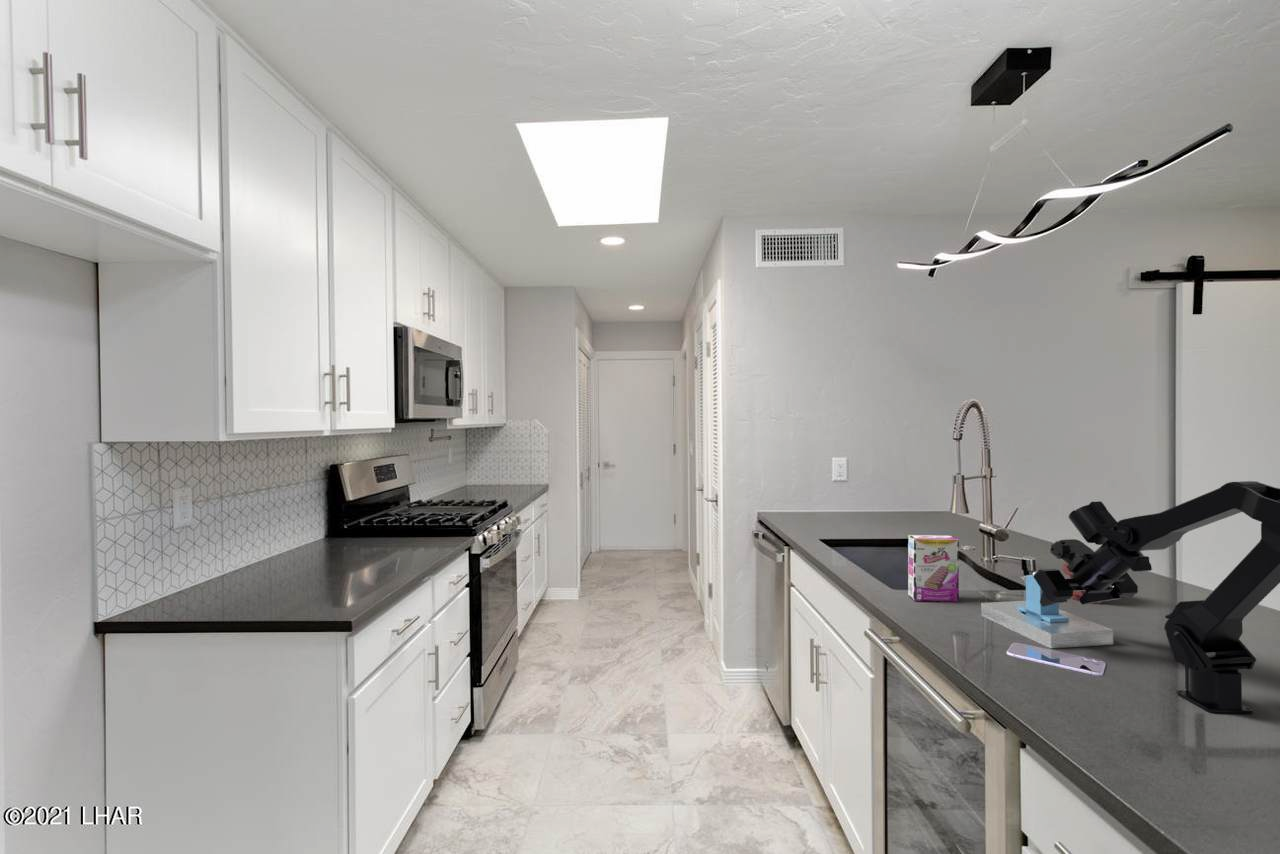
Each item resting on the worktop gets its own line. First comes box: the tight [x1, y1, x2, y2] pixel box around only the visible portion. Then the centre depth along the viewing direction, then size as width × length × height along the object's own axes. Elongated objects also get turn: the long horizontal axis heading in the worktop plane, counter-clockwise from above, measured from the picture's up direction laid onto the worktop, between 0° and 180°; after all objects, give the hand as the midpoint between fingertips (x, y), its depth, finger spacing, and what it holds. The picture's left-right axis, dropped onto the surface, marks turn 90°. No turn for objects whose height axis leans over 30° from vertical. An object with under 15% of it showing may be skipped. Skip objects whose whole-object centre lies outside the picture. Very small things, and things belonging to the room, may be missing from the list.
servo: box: [1018, 571, 1069, 623], centre depth 126 cm, size 9×4×12 cm, turn 7°
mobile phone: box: [1006, 642, 1106, 677], centre depth 111 cm, size 8×1×15 cm
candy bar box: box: [907, 534, 960, 603], centre depth 148 cm, size 11×5×16 cm, turn 84°
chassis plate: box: [980, 600, 1114, 650], centre depth 126 cm, size 20×14×3 cm
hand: (1061, 603), depth 121 cm, fingers open, 9 cm apart
